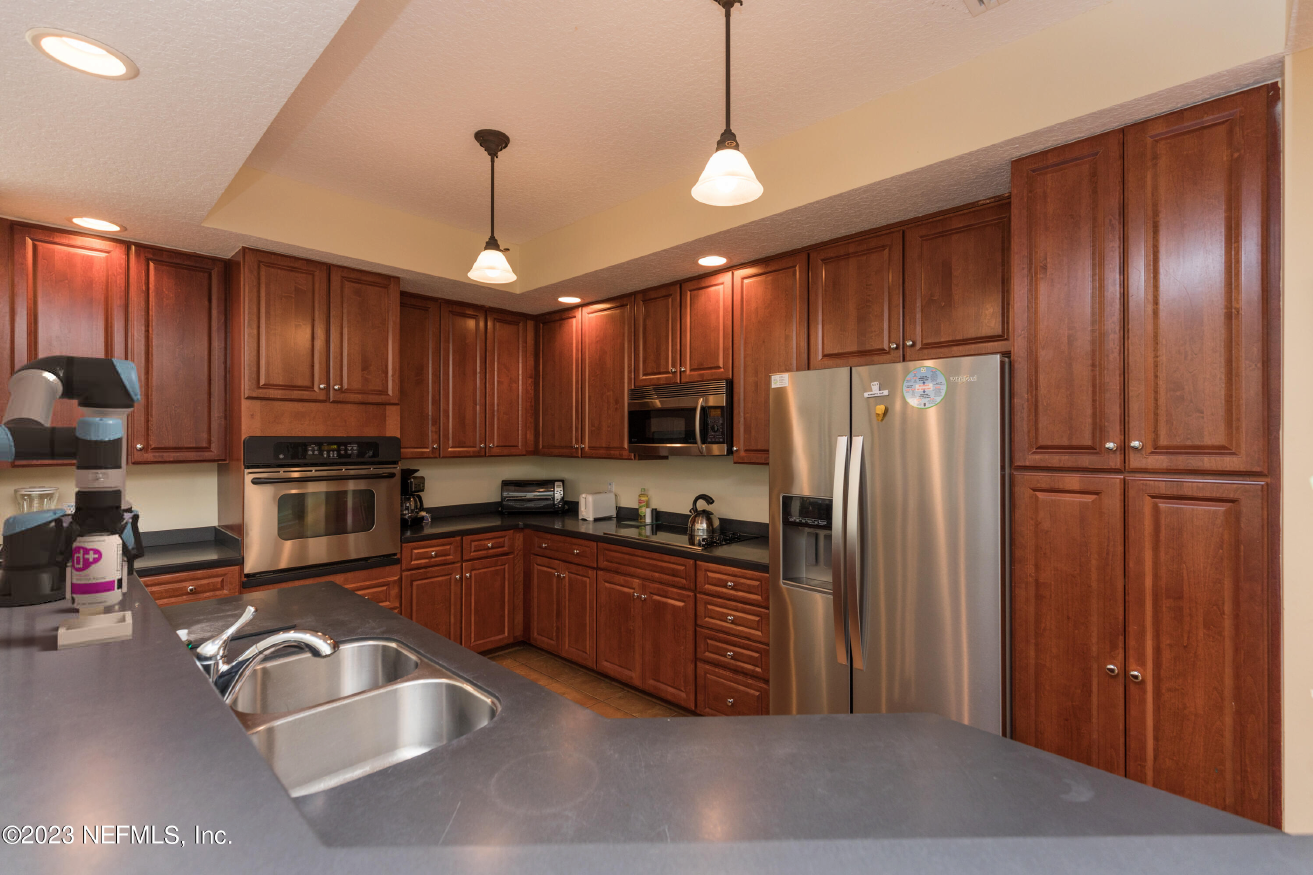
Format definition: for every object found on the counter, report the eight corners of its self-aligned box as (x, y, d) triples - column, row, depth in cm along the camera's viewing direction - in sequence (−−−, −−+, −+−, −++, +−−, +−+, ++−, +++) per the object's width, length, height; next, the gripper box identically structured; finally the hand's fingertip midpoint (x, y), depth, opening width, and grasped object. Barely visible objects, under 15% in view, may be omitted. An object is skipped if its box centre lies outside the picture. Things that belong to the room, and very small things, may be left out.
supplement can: (98, 609, 129) (99, 538, 129) (59, 609, 130) (60, 537, 130) (132, 599, 137) (133, 532, 138) (95, 599, 138) (96, 531, 138)
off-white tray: (61, 636, 134) (61, 619, 134) (130, 626, 142) (130, 610, 142) (57, 650, 125) (57, 632, 125) (131, 638, 133) (132, 622, 133)
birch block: (79, 626, 141) (80, 600, 141) (103, 623, 144) (103, 597, 144) (79, 630, 138) (79, 603, 138) (103, 627, 141) (103, 601, 141)
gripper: (27, 492, 124) (25, 605, 124) (162, 487, 138) (160, 589, 138) (31, 489, 130) (29, 598, 129) (160, 485, 143) (158, 583, 143)
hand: (97, 593), depth 134 cm, fingers closed on supplement can, 8 cm apart
